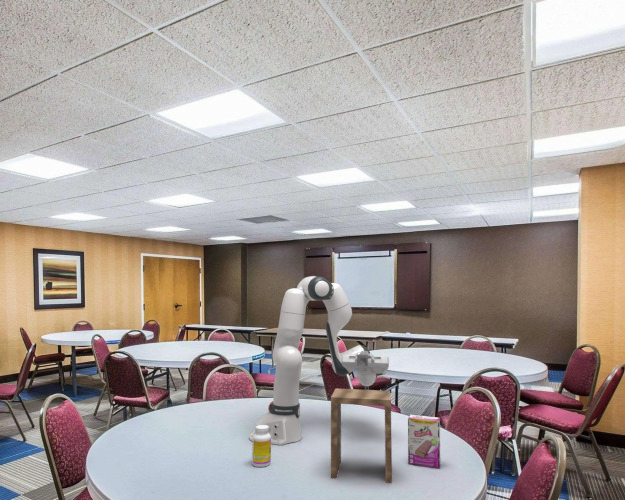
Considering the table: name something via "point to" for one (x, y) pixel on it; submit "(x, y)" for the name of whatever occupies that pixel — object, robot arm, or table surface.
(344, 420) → the table surface
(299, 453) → the table surface
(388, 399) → the wooden side table
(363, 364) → the bar
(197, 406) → the table surface
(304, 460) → the table surface
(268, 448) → the supplement bottle
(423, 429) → the candy bar box
